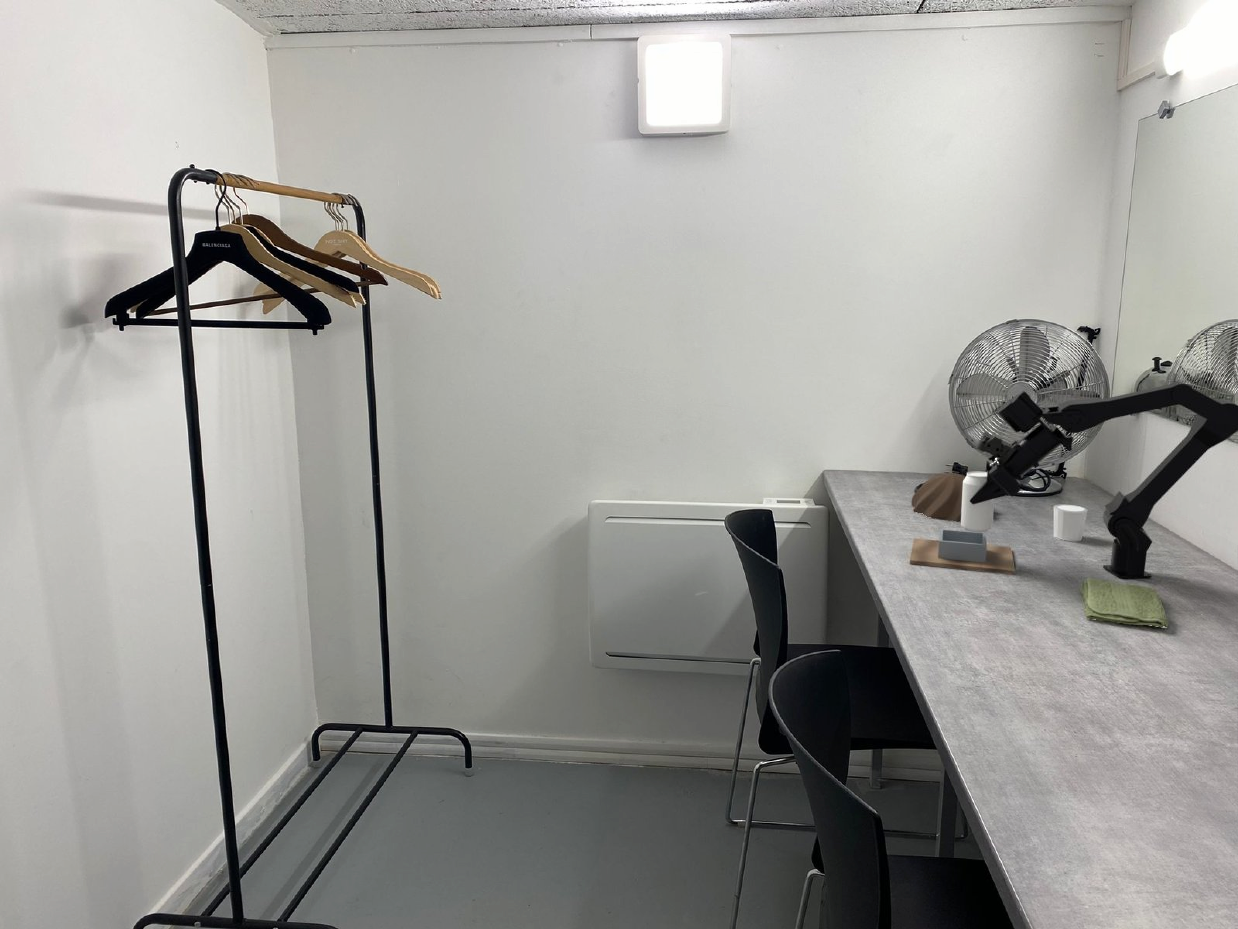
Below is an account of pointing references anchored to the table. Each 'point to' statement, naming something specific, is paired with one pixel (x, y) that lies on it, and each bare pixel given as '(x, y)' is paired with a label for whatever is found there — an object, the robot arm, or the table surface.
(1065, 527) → the white tapered cup
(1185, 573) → the table surface
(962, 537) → the gray square open box
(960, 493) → the decorative dome
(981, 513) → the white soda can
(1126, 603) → the washcloth
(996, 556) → the brown slab
